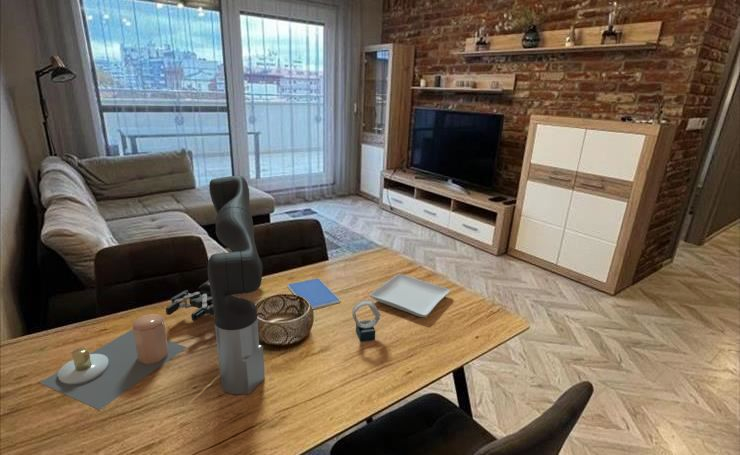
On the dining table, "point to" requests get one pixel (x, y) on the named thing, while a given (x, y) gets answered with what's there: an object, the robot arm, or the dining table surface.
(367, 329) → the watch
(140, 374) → the rubber mat
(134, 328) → the domed octagonal post
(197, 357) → the dining table surface
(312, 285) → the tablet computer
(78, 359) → the brass weight
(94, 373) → the saucer
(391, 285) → the salad plate
